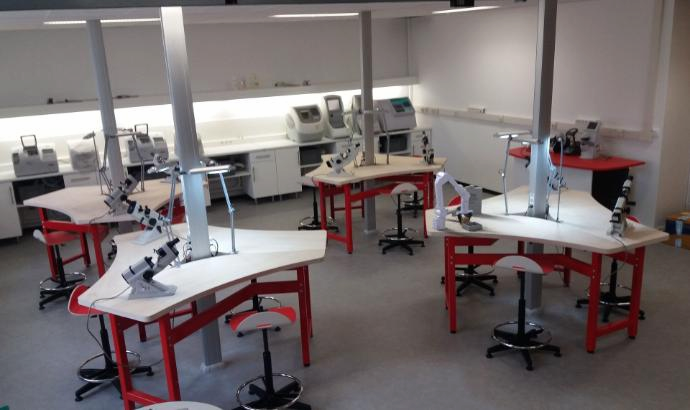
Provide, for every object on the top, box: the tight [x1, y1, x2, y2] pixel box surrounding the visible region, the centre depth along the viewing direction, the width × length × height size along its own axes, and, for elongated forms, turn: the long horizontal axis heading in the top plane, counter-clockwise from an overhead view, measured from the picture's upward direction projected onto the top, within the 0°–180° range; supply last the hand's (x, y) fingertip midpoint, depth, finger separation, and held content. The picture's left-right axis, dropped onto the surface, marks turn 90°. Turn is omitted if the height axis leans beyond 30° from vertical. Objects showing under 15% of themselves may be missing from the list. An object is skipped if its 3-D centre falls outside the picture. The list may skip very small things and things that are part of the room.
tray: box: [461, 221, 483, 232], centre depth 442 cm, size 12×10×4 cm
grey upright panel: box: [463, 184, 483, 215], centre depth 482 cm, size 17×5×25 cm, turn 91°
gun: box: [446, 205, 467, 220], centre depth 467 cm, size 5×27×15 cm, turn 62°
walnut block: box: [459, 216, 469, 226], centre depth 452 cm, size 5×5×6 cm
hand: (464, 222), depth 452 cm, fingers open, 7 cm apart
